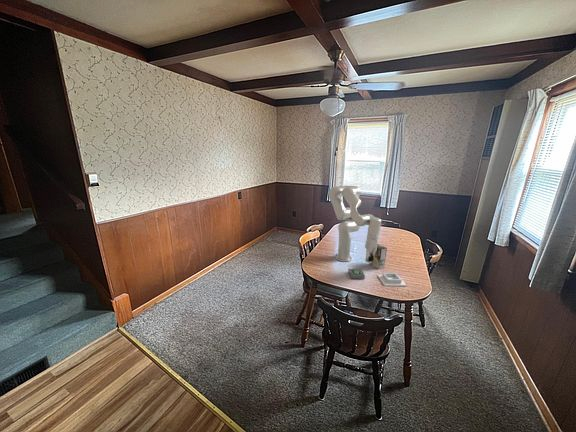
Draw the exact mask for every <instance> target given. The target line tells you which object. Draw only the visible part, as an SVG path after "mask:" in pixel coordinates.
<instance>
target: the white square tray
mask: <svg viewBox="0 0 576 432" xmlns="http://www.w3.org/2000/svg"><path fill="white" fill-rule="evenodd" d="M377 277H378V279H379V280H380V282H381V284H383V286H385V287H386V286H387V287H406V286H407V284H406V283H405V281H404V280H403V279H402V278H401V277H400V275H398V274H397V272H382V274H377Z"/></svg>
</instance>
